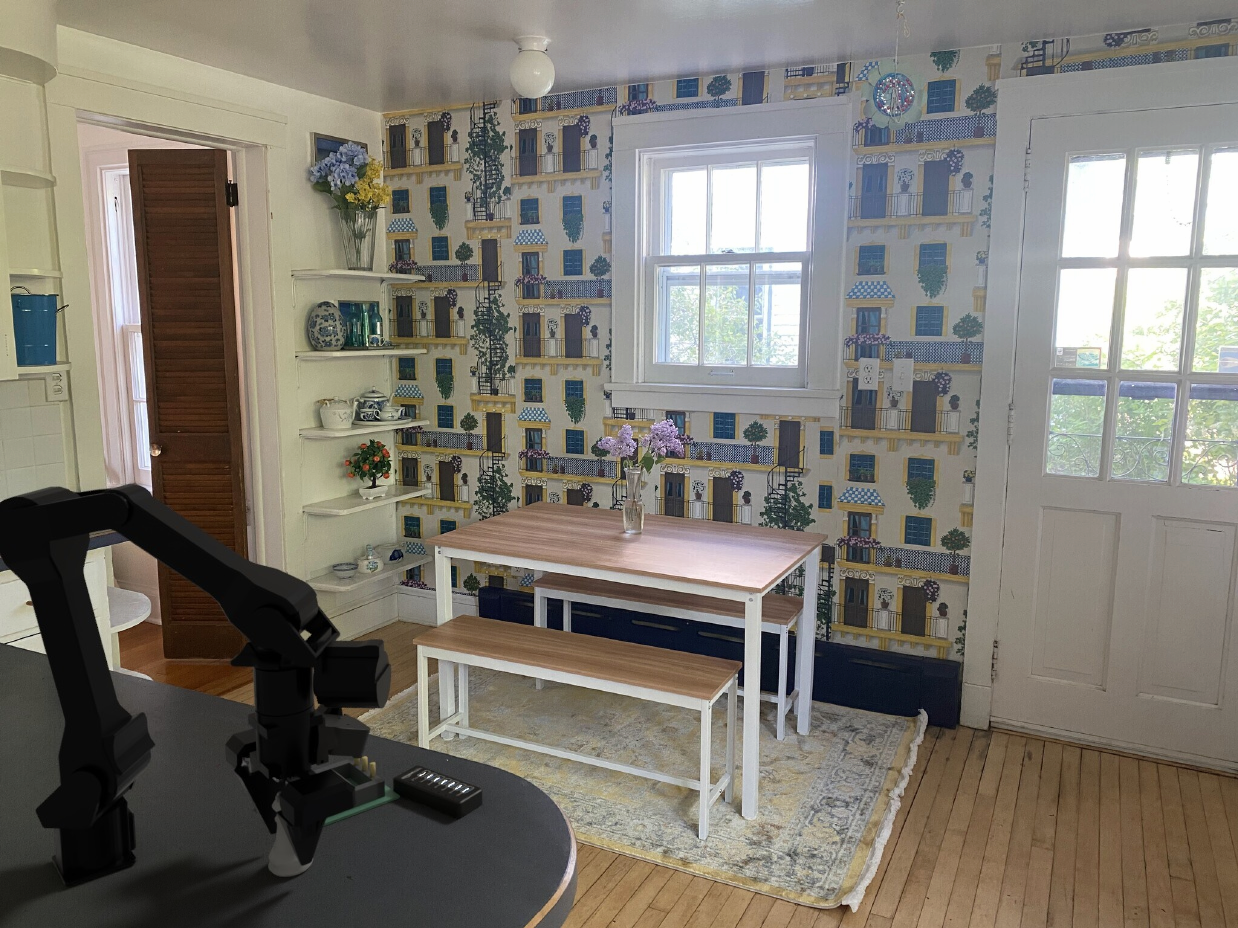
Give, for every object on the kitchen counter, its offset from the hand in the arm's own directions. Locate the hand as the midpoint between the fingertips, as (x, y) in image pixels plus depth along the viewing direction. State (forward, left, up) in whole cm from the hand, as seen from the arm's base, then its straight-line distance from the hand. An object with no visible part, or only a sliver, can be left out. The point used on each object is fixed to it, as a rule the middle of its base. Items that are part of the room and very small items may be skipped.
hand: (290, 847), depth 94 cm
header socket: (+9, +10, -2) cm, 14 cm away
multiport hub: (+19, +2, -3) cm, 19 cm away
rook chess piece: (0, 0, -2) cm, 2 cm away
